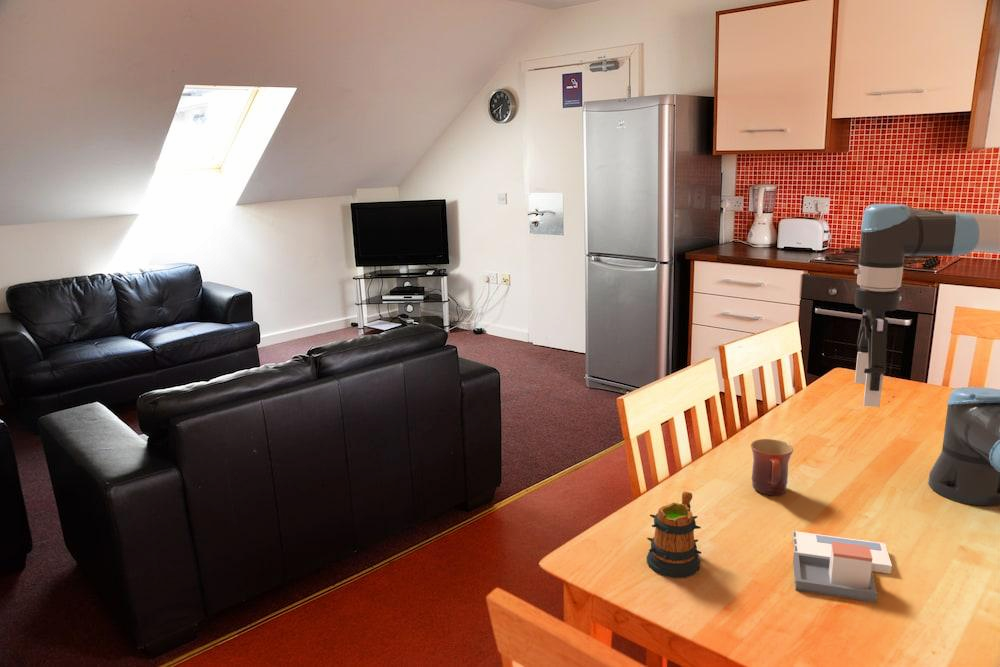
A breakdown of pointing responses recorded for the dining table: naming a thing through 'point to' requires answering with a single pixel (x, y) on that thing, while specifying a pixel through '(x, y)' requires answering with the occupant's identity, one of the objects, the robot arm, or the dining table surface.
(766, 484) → the mug
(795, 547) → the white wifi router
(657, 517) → the mug
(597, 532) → the dining table surface
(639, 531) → the dining table surface
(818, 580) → the tray
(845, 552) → the block
